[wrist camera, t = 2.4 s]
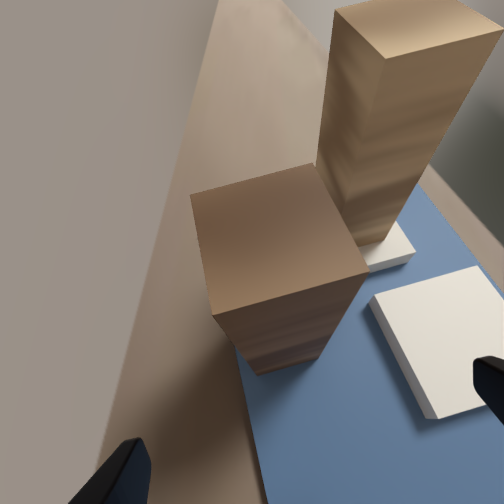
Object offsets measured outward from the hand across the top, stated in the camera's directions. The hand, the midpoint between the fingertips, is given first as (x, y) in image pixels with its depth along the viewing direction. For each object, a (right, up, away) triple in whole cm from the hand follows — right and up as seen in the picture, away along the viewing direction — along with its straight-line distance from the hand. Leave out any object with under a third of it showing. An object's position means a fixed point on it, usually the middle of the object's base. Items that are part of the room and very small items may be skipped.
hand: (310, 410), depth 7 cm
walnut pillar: (0, -1, +11) cm, 11 cm away
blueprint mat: (+7, -2, +11) cm, 13 cm away
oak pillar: (+5, +6, +13) cm, 15 cm away
